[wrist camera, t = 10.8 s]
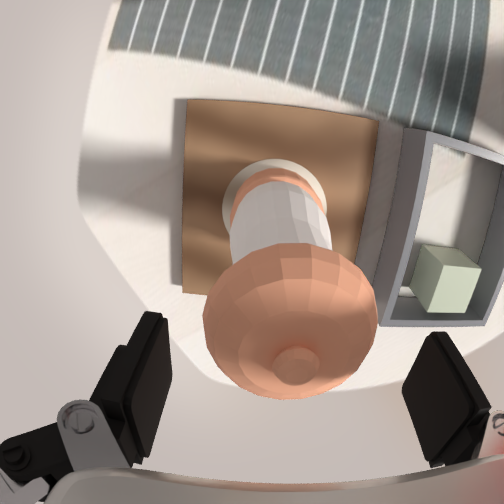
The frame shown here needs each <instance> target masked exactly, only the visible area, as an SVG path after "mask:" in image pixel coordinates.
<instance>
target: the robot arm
mask: <svg viewBox="0 0 504 504" xmlns="http://www.w3.org/2000/svg"><path fill="white" fill-rule="evenodd" d="M171 382H172V365H171V355H170V344H169V331H168V320H167V318H163V316H162V314H161V313H156V312H149V311H146V312H144V314H143V316H142V317H141V319H140V321H139V323H138V325H137V327H136V329H135V330H134V332H133V334H132V336H131V338H130V340H129V342H128V344H127V346H125V345H119V346H118V347H117V348H116V350H115V352H114V354H113V356H112V357H111V359H110V361H109V363H108V365H107V367H106V369H105V370H104V372H103V374H102V376H101V378H100V380H99V382H98V384H97V386H96V388H95V390H94V392H93V394H92V396H91V398H90V400H89V401H88V400H74V401H71V402H69V403H67V404H66V405H64V406H63V407H62V408H61V409H60V411H59V412H58V416H57V422H56V423H53V424H50V425H47V426H44V427H41V428H39V429H36V430H33V431H30V432H27V433H24V434H21V435H17V436H15V437H11V438H9V439H7V440H5V441H4V442H2V444H0V504H35V503H36V502H37V501H40V502H44V504H504V411H501V410H499V411H498V410H497V411H494V412H492V413H491V414H490V413H489V412H488V411H489V410H490V409H491V405H490V403H489V402H488V400H487V398H486V396H485V394H484V392H483V391H482V389H481V387H480V385H479V384H478V382H477V380H476V379H475V377H474V375H473V374H472V372H471V370H470V368H469V367H468V365H467V364H466V362H465V360H464V359H463V357H462V355H461V354H460V352H459V351H458V349H457V348H456V346H455V344H454V343H453V341H452V340H451V338H450V337H449V335H448V334H447V333H446V332H431V333H430V335H429V336H427V337H426V338H425V340H424V343H423V345H422V347H421V349H420V351H419V353H418V356H417V358H416V360H415V362H414V364H413V366H412V368H411V370H410V372H409V374H408V376H407V378H406V380H405V382H404V383H403V386H402V394H403V397H404V400H405V403H406V406H407V408H408V411H409V413H410V416H411V419H412V422H413V425H414V428H415V430H416V434H417V436H418V439H419V442H420V445H421V448H422V451H423V454H424V457H425V460H426V461H429V464H430V467H431V468H433V467H438V466H442V465H443V464H445V467H441V468H436V469H432V470H427V471H422V472H417V473H411V474H405V475H399V476H393V477H385V478H378V479H370V480H361V481H349V482H336V483H313V484H273V483H272V484H271V483H251V482H237V481H225V480H214V479H205V478H197V477H189V476H183V475H176V474H171V473H163V472H156V471H150V470H142V469H133V468H132V466H133V463H137V464H142V461H143V458H144V457H147V458H148V457H149V455H150V452H151V449H152V445H153V442H154V439H155V435H156V432H157V428H158V425H159V421H160V418H161V415H162V411H163V408H164V405H165V401H166V398H167V395H168V391H169V388H170V385H171Z"/></svg>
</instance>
